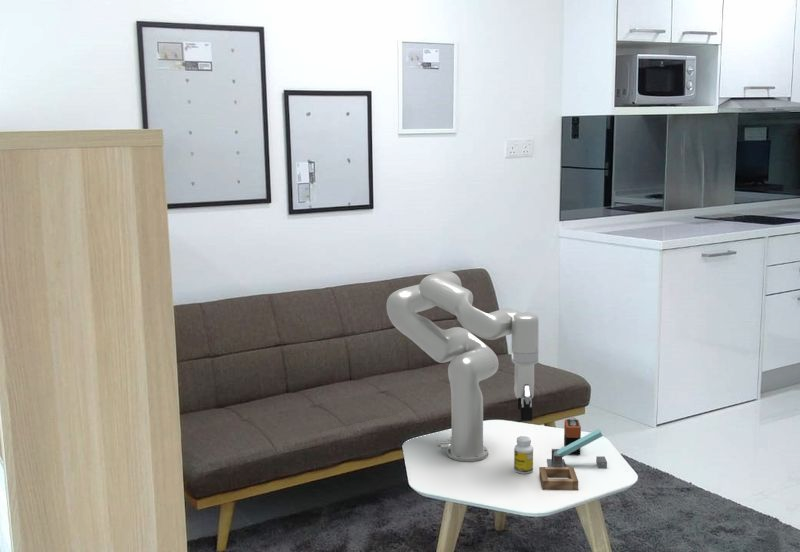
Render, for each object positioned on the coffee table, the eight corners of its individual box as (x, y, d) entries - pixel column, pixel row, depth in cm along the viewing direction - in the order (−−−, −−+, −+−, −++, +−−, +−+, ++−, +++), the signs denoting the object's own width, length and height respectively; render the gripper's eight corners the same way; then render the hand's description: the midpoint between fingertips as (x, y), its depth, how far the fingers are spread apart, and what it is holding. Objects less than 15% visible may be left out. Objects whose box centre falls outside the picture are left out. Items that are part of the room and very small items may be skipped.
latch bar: (556, 461, 247) (553, 456, 247) (555, 457, 250) (552, 452, 250) (603, 436, 245) (600, 431, 245) (601, 433, 248) (598, 428, 248)
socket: (542, 489, 233) (543, 480, 232) (539, 475, 242) (539, 466, 242) (578, 489, 232) (578, 481, 232) (573, 475, 242) (573, 467, 241)
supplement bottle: (510, 470, 246) (510, 438, 244) (523, 465, 249) (523, 433, 248) (523, 476, 242) (523, 443, 240) (536, 471, 245) (537, 438, 243)
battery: (578, 447, 262) (578, 416, 261) (580, 455, 256) (581, 424, 254) (563, 446, 263) (564, 416, 261) (565, 455, 256) (566, 423, 254)
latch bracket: (549, 469, 246) (549, 456, 245) (546, 460, 252) (547, 448, 252) (607, 470, 245) (607, 456, 244) (603, 461, 251) (604, 448, 250)
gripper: (509, 348, 248) (509, 404, 251) (513, 365, 231) (513, 425, 234) (535, 348, 248) (535, 404, 251) (541, 365, 231) (541, 425, 234)
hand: (524, 414), depth 242 cm, fingers open, 9 cm apart
